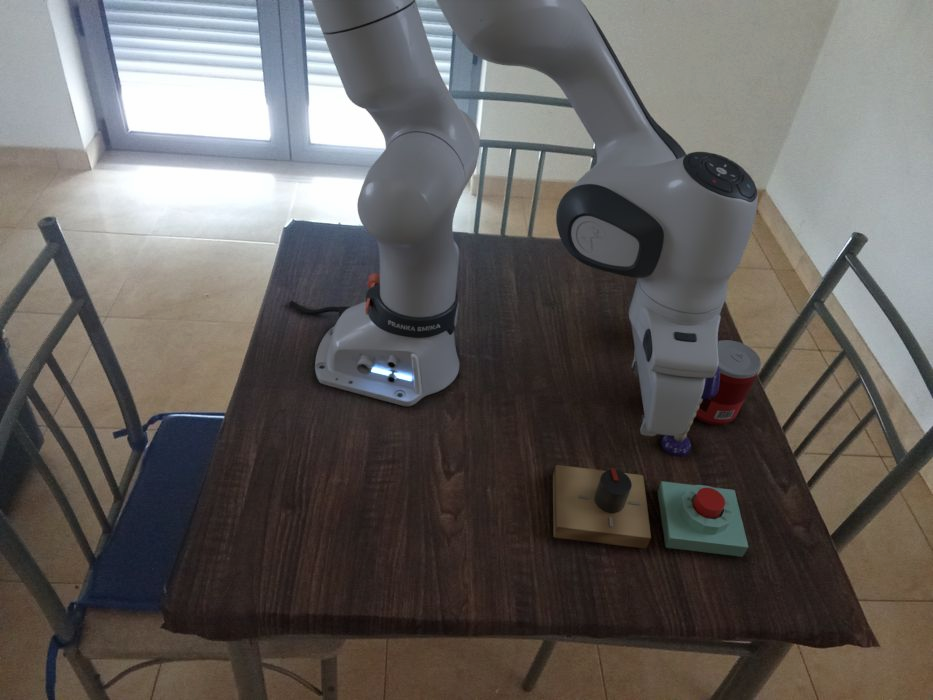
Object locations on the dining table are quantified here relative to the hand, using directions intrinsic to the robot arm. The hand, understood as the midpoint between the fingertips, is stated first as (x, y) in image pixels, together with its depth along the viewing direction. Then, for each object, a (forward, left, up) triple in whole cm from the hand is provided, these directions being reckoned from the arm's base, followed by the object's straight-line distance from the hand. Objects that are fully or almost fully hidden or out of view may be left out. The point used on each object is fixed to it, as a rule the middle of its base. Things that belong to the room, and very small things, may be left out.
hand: (642, 400), depth 83 cm
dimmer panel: (-1, -2, -20) cm, 20 cm away
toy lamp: (+11, +11, -20) cm, 25 cm away
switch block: (+12, -2, -20) cm, 23 cm away
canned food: (+18, +20, -20) cm, 33 cm away
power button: (+12, -2, -16) cm, 20 cm away
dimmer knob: (0, -2, -17) cm, 17 cm away
